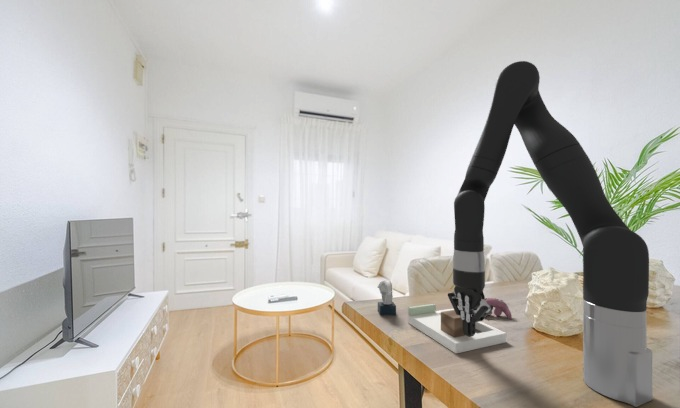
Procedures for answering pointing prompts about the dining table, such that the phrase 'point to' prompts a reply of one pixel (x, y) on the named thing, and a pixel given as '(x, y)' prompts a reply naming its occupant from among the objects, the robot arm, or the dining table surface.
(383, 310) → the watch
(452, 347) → the board
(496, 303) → the video game controller
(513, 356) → the dining table surface
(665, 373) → the dining table surface
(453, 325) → the walnut block
